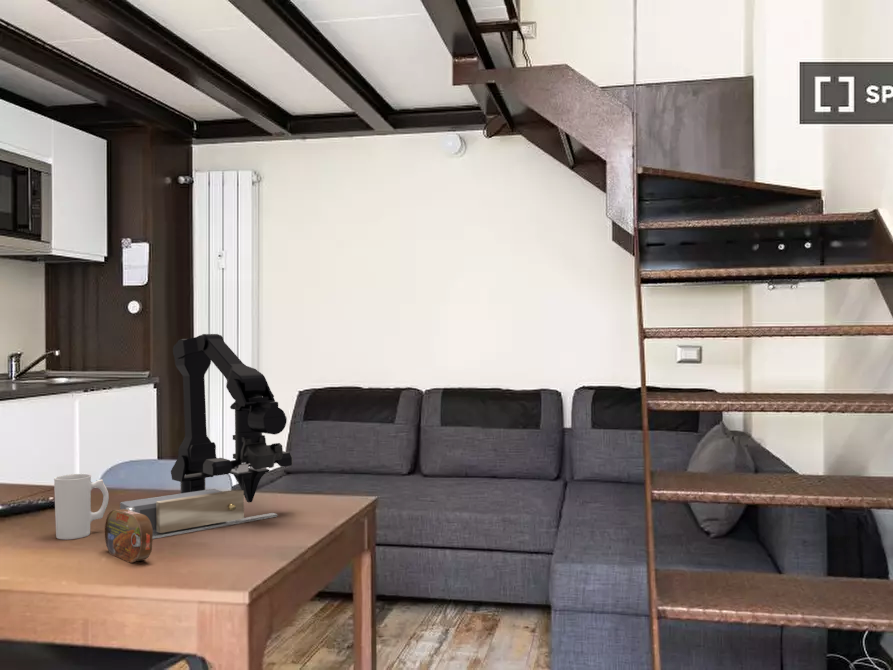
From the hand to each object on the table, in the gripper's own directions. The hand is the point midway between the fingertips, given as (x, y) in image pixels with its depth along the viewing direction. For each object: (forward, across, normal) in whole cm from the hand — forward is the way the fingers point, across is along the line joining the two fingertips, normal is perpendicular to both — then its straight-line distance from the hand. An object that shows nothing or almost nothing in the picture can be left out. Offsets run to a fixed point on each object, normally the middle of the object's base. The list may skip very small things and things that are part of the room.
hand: (249, 502), depth 165 cm
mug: (+4, -31, +13) cm, 34 cm away
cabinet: (+4, -15, +4) cm, 16 cm away
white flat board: (+4, -10, 0) cm, 11 cm away
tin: (+4, -29, -10) cm, 31 cm away
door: (+3, -11, 0) cm, 11 cm away
